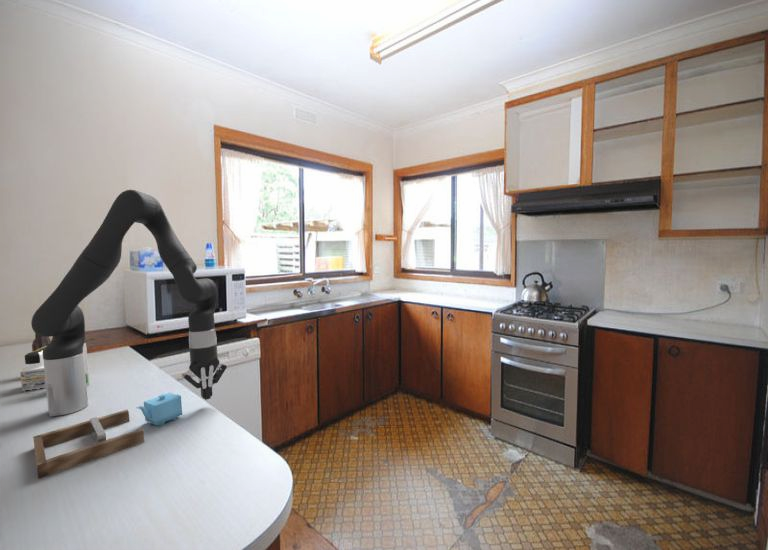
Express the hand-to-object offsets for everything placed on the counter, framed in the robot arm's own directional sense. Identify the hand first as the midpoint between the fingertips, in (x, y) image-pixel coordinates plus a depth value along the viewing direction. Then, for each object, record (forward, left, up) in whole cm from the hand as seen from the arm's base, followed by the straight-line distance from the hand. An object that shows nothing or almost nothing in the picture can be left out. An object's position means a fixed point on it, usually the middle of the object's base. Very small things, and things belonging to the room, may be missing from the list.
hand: (206, 398), depth 111 cm
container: (-35, +67, -3) cm, 76 cm away
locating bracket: (-28, 0, -3) cm, 29 cm away
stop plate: (-27, 0, -2) cm, 27 cm away
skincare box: (-27, +56, -3) cm, 62 cm away
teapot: (-13, 0, -3) cm, 13 cm away
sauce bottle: (-33, +84, -3) cm, 90 cm away
